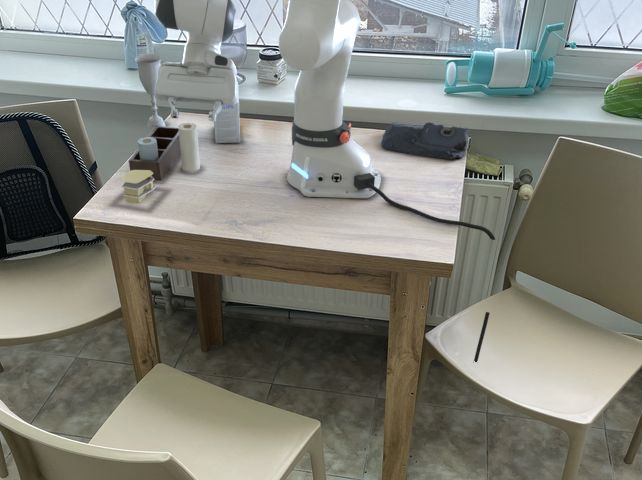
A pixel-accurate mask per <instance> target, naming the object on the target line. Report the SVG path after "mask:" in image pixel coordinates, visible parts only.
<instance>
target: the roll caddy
mask: <svg viewBox="0 0 642 480" xmlns="http://www.w3.org/2000/svg"><path fill="white" fill-rule="evenodd" d="M147 137H152V138H155V139H156V140H157V148H158V156H159V159H158V161H146V160H140V155H139V147H137V149H136V150H135V152H133V154H132V155H131V156H130V158H129V159H128V166H129V171H131V170H151V171H152V172H153V174H152V175H151V176H152V177H153V178H154V180H153V181H158V182H161V181H162V180H163V179H164V178H165V176H166V174H167V173H168V171H169V170H170V169H171V167H172V166H173V165H174V163H175V162H176V159H178V157H179V156H180V155H181V151H180V141H179V131H178V126H177V127H176V126H165V127H164V126H156V127H155V128H154V129H151V131H150V133H149V134H148V135H147ZM148 180H149V179H148Z"/></svg>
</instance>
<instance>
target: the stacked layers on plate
mask: <svg viewBox="0 0 642 480" xmlns="http://www.w3.org/2000/svg"><path fill="white" fill-rule="evenodd" d="M152 174H153V172H152V171H151V170H131V171H130V170H129V171H127V172H126V173H125V175H124V176H123V177H122V179H121V182H123V184H122V185H121V188H122V189H124V193H123V194H122V196H124V197H125V201H126V202H131V203H137V204H140V203H141V202H142V201H143V200H144V199H145V198H146V197H147V194H149V193H151V192H153V191H154V190H155V189H156V186H155V185H154V181H155V180H154V178H153V177H152V176H151V175H152ZM148 179H149V180H148Z"/></svg>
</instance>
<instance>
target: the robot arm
mask: <svg viewBox="0 0 642 480" xmlns="http://www.w3.org/2000/svg"><path fill="white" fill-rule="evenodd" d="M287 4H288V5H287V11H286V17H285V20H284V24H283V27H282V29H281V30H280V31H281V32H280V33H279V34H280V35H279V37H278V50H279V54H280V57H281V59H282V60H283V61H284V62H285V64H287V66H288V67H290V69H291V68H292V69H293V70H294V71H298V72H299V74H298V77H297V80H296V82H295V85H294V90H293V93H294V97H293V98H294V99H293V100H294V101H293V104H294V105H293V121H292V125H291V145H292V153H291V160H290V165H289V169H288V173H287V175H286V181H287V183H288V184H289V185H290V186H291V187H293V188H295V189H296V190H298V191H299V192H300V193H301V194H302V195H303V196H305V197H308V198H309V197H311V198H341V199H343V198H344V199H369V198H372V197H373V196H374V195H375V194H378V195H379V196H380V197H381V198H382V199H383V200H384V201H385V202H386V203H388V204H389V205H390V206H393V207H396V208H397V209H401V210H405V211H407V212H411V213H413V214H415V215H418V216H419V217H422V218H424V219H427V220H430V221H433V222H435V223H441V224H445V225H453V226H461V227H466V228H469V229H473V230H478V231H482V232H484V233H485V234H486V235H487V236H488V237H489V239H490V240H492V241H495V240H496V237H495V235H494V234H493V233H492V231H491V230H490V229H488V228H487V227H485V226H482V225H478V224H473V223H469V222H465V221H461V220H453V219H444V218H440V217H436V216H433V215H430V214H427V213H425V212H424V211H421V210H419V209H416V208H413V207H410V206H408V205H405V204H401V203H398V202H396V201H394V200H393V199H391V198H389V197H388V196H387V195H386V194H385V193H384V192H383V191H382V190H380V187H381V183H382V178H381V177H382V175H381V174H380V172H379V171H378V170H377V169H374V168H373V162H372V159H371V158H372V157H371V155H370V153H369V152H368V151H367V150H366V149H364V148H363V147H362V146H360V145H359V144H358V143H357V142H355V141H354V140H353V139H352V138H351V133H352V131H351V129H352V123H351V122H349V123H348V124H347V123H346V122H345V121H344V120H343V115H344V98H345V89H346V82H347V77H348V73H349V69H350V64H351V60H352V55H353V49H354V44H355V40H356V37H357V36H358V32H359V29H360V26H361V17H360V13H359V11H358V8H357V7H356V5H355V4H354V3H353V2H352V1H351V0H288V3H287ZM153 7H154V8H153V9H154V15H155V17H156V19H157V21H158V22H159V23H160V24H161V25H162V26H163V27H164V28H165V29H170V30H176V31H183V32H186V37H187V38H186V39H187V40H186V43H185V44H184V49H183V50H184V51H183V57H182V61H181V62H177V61H175V62H171V61H165V62H164V63H162V64H160V65H161V66H159V70H158V79H157V82H156V87H155V93H156V94H155V96H157V98H158V99H159V100H160V101H164V102H168V105H169V106H170V118H172V119H179V115H180V111H179V110H178V108H175V106H176V105H177V102H179V103H193V104H204V105H205V104H206V105H213V104H215V105H216V107H215V109H214V110H213V109H212V111H210V110H209V111H208V117H207V118H208V120H209V122H214V121H216V116H217V114H218V113H219V112H220V111H221V109H222V106H223V105H235V104H236V103H237V102H238V99H239V82H238V79H237V77H238V71H237V67H236V65H235V63H234V61H233V59H231V58H230V57H227V56H225V55H222V54H221V45H222V44H223V43H225V42H226V41H227V40H228V39H231V37H232V35H233V33H234V24H235V15H236V12H237V8H236V6H235V4H234V2H233V0H154V3H153ZM490 314H491V313H490V312H488V311H485V314H484V318H483V323H482V327H481V330H480V334H479V338H478V343H477V346H476V350H475V355H474V359H473V362H474V361H475V362H477V361H478V362H479V358H480V353H481V350H482V346H483V341H484V337H485V333H486V330H487V326H488V322H489V319H490V318H489V317H490ZM478 362H477V363H478Z"/></svg>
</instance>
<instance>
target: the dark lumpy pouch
mask: <svg viewBox="0 0 642 480" xmlns="http://www.w3.org/2000/svg"><path fill="white" fill-rule="evenodd" d="M469 133H470V129H469V128H468V127H457V126H451V128H450V129H447V128H446V127H445V125H444V124H435V123H433V122H426V123H424V125H414V124H413V125H412V124H405V123H400V122H391V123H390V124H389V125H388V126H387V127H386V130H385V131H384V133H383V134H382V138H381V142H380V144H381V148H383V149H387V150H389V151H393V152H397V153H402V154H403V153H404V154H406V155H407V154H408V155H415V156H422V157H429V158H435V159H441V160H454V159H462V158H463V157H464V156H465V154H464V153H465V151H466V149H467V146H468V143H469Z"/></svg>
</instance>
